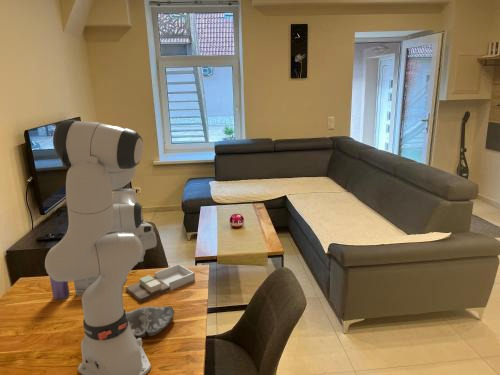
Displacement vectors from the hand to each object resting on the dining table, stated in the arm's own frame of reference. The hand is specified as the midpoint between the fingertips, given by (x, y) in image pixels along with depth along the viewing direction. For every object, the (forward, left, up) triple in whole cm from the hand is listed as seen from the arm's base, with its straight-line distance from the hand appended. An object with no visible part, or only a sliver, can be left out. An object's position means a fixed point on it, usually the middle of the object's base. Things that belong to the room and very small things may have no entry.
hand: (132, 263), depth 143 cm
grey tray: (+3, -19, -15) cm, 24 cm away
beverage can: (+23, +21, -15) cm, 35 cm away
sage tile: (+5, -7, -14) cm, 16 cm away
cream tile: (0, -7, -14) cm, 16 cm away
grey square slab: (+3, -6, -15) cm, 17 cm away
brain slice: (-19, +6, -16) cm, 25 cm away
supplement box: (+19, +6, -16) cm, 26 cm away
